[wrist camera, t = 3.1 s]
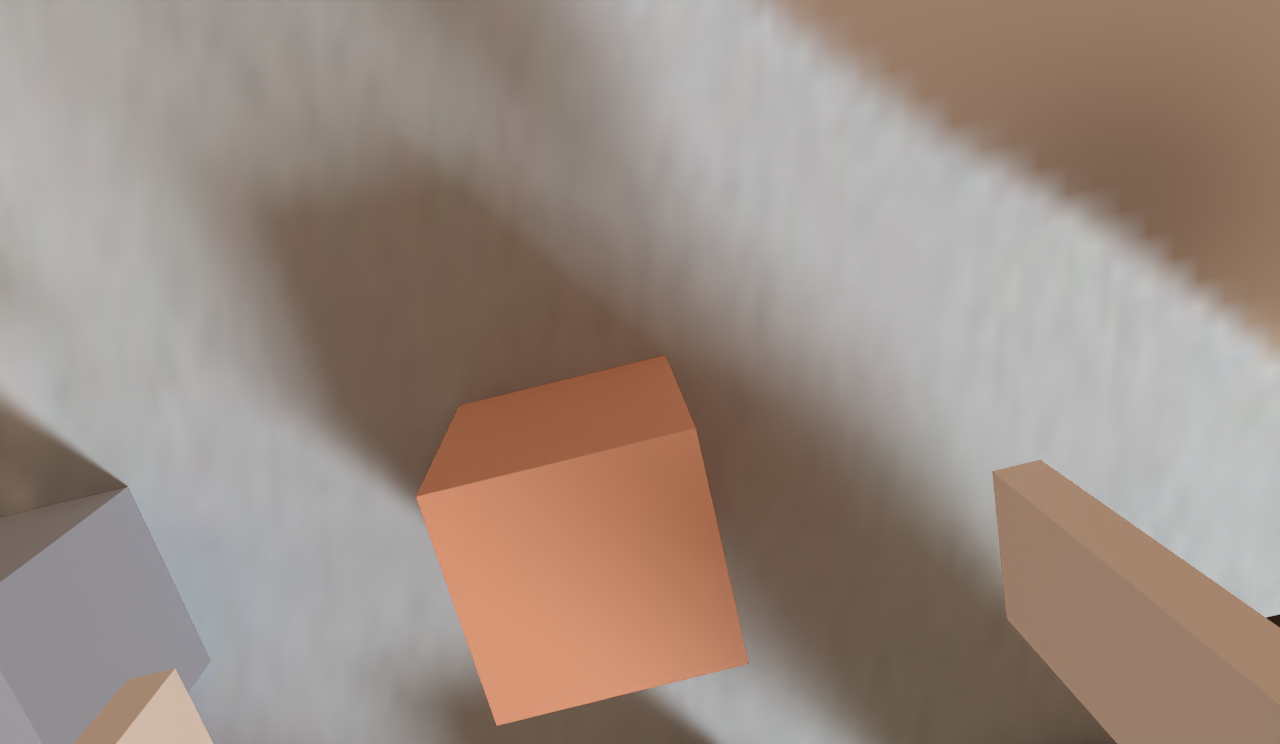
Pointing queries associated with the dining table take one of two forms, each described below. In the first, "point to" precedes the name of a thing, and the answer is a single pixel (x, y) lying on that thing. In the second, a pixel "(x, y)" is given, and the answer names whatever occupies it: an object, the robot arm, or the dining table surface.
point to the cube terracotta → (581, 541)
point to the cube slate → (83, 615)
